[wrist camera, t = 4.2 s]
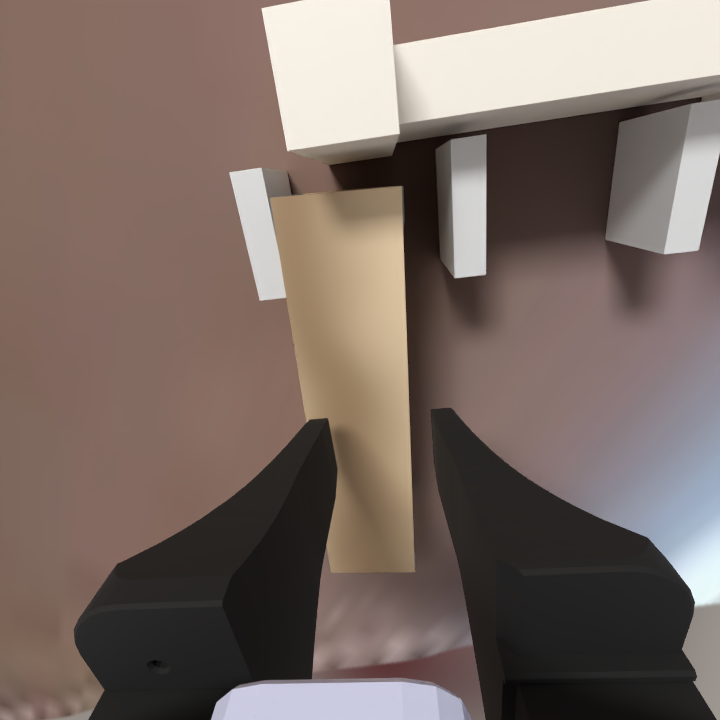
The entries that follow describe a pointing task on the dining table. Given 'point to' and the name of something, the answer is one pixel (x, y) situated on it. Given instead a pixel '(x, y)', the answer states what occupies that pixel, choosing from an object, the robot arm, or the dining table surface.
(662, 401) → the dining table surface
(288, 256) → the rail
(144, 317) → the dining table surface
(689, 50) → the white comb rack
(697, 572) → the dining table surface
